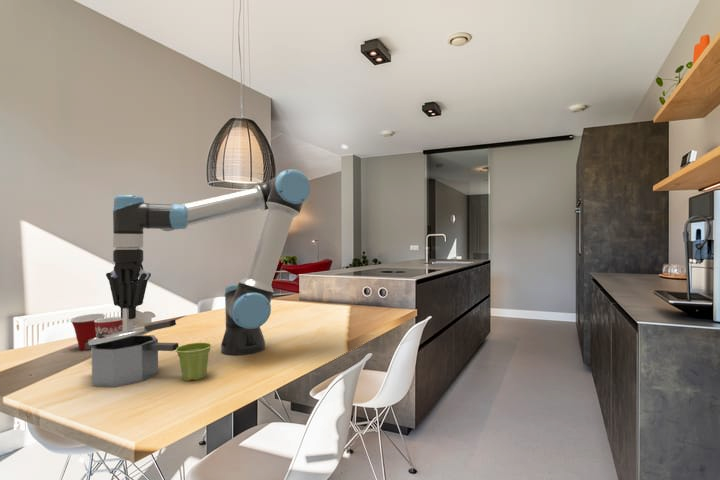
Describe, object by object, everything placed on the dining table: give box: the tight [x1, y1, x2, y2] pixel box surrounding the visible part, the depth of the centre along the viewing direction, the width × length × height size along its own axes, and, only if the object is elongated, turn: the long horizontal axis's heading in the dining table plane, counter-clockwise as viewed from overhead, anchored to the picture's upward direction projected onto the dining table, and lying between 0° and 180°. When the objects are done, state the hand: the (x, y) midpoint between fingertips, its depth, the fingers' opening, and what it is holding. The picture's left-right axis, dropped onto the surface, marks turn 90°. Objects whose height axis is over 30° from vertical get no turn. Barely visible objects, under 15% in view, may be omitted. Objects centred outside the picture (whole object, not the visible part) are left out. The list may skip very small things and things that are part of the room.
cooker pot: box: [85, 334, 179, 388], centre depth 113 cm, size 28×16×10 cm, turn 81°
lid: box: [88, 319, 177, 345], centre depth 113 cm, size 25×17×3 cm
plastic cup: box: [69, 313, 106, 351], centre depth 145 cm, size 11×11×12 cm
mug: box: [94, 316, 123, 337], centre depth 132 cm, size 13×9×14 cm
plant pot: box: [175, 342, 212, 382], centre depth 111 cm, size 9×9×9 cm
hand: (128, 330), depth 113 cm, fingers closed
